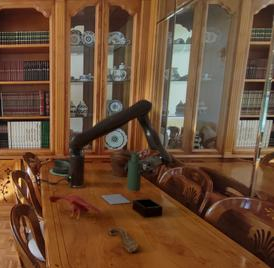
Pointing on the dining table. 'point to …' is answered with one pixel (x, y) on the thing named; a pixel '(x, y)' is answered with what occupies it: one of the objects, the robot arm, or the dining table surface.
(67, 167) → the green hat
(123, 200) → the coaster
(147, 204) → the holder
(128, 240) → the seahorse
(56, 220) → the dining table surface
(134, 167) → the bottle
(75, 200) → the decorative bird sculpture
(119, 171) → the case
